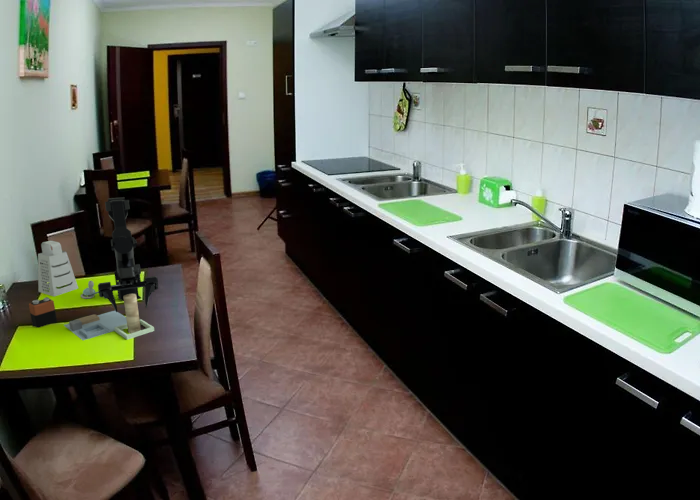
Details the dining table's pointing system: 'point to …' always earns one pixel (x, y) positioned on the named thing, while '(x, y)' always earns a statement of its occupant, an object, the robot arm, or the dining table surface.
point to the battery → (42, 312)
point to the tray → (135, 334)
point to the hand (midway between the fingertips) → (131, 309)
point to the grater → (55, 270)
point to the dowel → (131, 313)
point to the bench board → (96, 324)
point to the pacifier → (89, 291)
